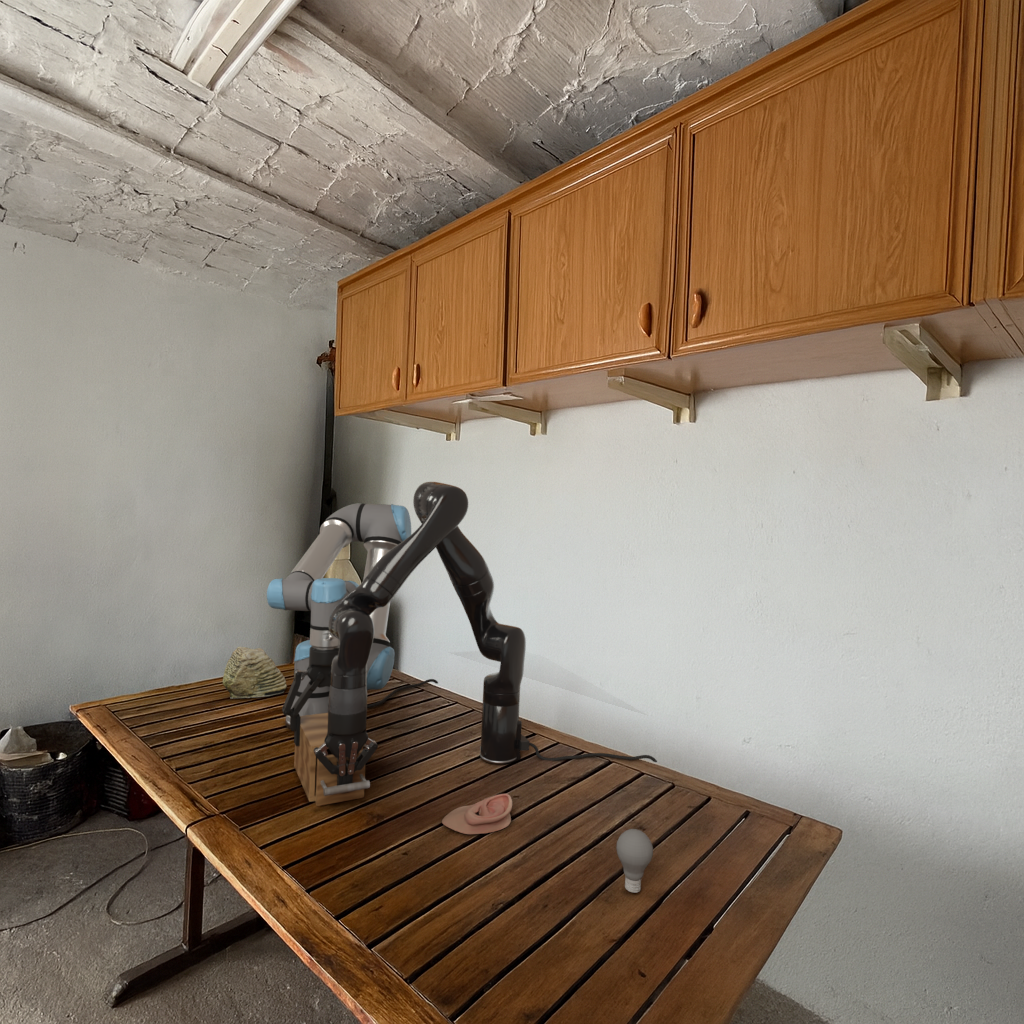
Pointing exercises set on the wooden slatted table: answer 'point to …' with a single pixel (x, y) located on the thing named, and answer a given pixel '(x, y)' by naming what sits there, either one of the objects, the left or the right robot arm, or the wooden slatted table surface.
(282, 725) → the wooden slatted table surface
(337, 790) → the drawer
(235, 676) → the fossil
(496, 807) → the anatomical model
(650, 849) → the light bulb
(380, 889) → the wooden slatted table surface
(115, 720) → the wooden slatted table surface
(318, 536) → the left robot arm
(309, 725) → the cabinet
